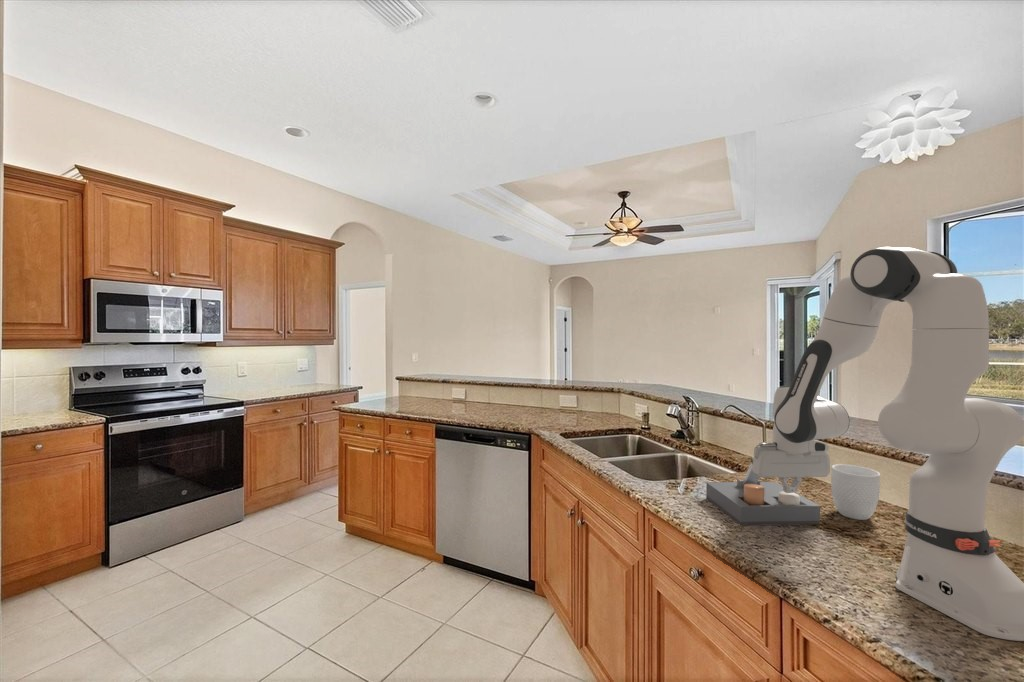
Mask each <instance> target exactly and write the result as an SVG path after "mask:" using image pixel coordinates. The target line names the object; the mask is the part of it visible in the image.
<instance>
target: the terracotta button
mask: <svg viewBox="0 0 1024 682" xmlns="http://www.w3.org/2000/svg"><path fill="white" fill-rule="evenodd" d="M764 494H765V488H764V487H763V486H760V485H757V484H745V485H744V502H745V503H747V504H748V505H764Z"/></svg>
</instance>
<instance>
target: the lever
mask: <svg viewBox="0 0 1024 682" xmlns="http://www.w3.org/2000/svg"><path fill="white" fill-rule="evenodd" d="M753 459H754V457H752V458H750V464H749V466H748V469H747V471H746V474H745V475H744V478H743V480H742V481H744V482H743V486H744V485H745V484H757V482H758V480H759V481H760V478H761V477H759V476H757V475H755V474H754V472H753V471H752V466H753Z"/></svg>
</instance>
